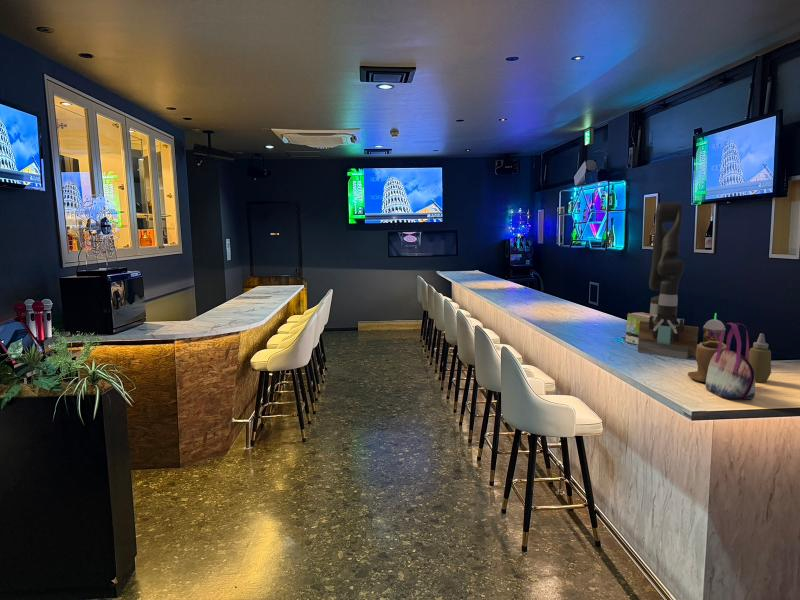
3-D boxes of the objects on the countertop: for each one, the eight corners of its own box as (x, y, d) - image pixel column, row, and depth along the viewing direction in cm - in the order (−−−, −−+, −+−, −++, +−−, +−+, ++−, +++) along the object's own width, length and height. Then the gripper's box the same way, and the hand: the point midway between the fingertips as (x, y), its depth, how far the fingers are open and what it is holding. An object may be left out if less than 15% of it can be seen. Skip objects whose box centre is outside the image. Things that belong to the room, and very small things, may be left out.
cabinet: (659, 345, 240) (661, 320, 239) (671, 347, 237) (673, 321, 235) (656, 347, 236) (658, 321, 234) (668, 349, 233) (671, 323, 231)
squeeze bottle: (770, 385, 191) (776, 336, 189) (744, 381, 195) (749, 334, 193) (769, 379, 198) (774, 333, 195) (743, 376, 202) (748, 330, 200)
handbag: (695, 385, 191) (701, 317, 187) (722, 384, 191) (728, 317, 188) (734, 405, 170) (742, 329, 166) (764, 404, 170) (773, 329, 166)
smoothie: (702, 359, 228) (706, 314, 225) (699, 355, 235) (703, 311, 233) (724, 361, 225) (728, 315, 222) (720, 356, 232) (725, 312, 230)
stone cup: (700, 386, 190) (704, 345, 187) (682, 376, 201) (686, 338, 199) (742, 386, 190) (746, 345, 188) (722, 376, 201) (725, 338, 199)
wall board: (638, 347, 249) (640, 320, 247) (696, 355, 234) (698, 327, 232) (633, 351, 241) (635, 323, 240) (691, 360, 226) (694, 330, 225)
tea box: (624, 342, 261) (626, 312, 259) (639, 340, 265) (641, 311, 263) (650, 348, 248) (652, 317, 245) (665, 346, 252) (667, 316, 250)
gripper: (687, 304, 232) (684, 341, 235) (652, 301, 241) (649, 336, 243) (683, 306, 226) (680, 343, 229) (648, 303, 235) (645, 339, 238)
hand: (664, 340), depth 236 cm, fingers open, 7 cm apart
